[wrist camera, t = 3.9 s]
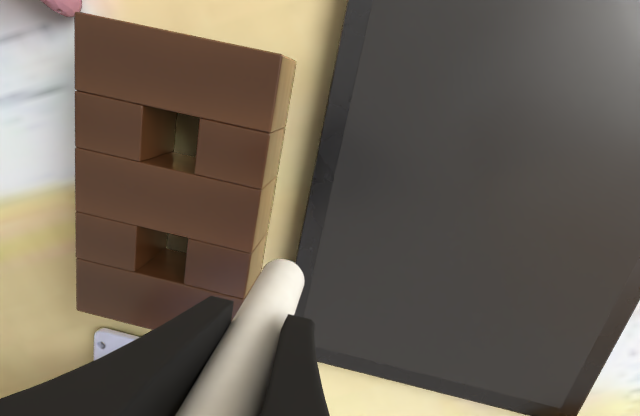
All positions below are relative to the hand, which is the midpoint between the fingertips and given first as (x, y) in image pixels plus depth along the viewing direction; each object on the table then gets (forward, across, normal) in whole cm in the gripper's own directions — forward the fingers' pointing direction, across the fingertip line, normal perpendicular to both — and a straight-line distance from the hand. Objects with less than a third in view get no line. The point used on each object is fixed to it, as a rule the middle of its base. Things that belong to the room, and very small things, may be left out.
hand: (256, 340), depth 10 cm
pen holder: (+10, +6, 0) cm, 12 cm away
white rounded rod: (+4, 0, 0) cm, 4 cm away
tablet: (+10, -8, -3) cm, 13 cm away
